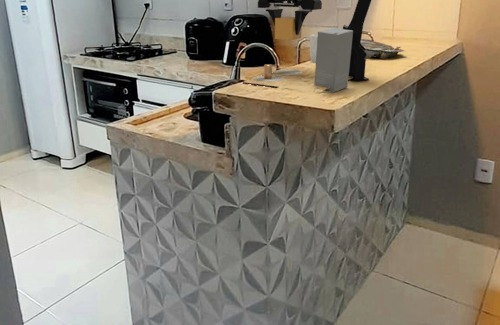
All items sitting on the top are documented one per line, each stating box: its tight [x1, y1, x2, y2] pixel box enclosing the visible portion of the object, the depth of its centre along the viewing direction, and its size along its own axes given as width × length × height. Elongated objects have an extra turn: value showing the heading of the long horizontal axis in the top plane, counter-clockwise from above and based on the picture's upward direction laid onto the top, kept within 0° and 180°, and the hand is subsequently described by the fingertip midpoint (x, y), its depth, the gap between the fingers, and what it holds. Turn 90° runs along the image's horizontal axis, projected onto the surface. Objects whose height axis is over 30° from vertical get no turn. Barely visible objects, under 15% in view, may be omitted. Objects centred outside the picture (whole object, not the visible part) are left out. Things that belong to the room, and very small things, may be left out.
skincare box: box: [313, 27, 353, 93], centre depth 132 cm, size 8×7×16 cm
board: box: [242, 69, 304, 89], centre depth 147 cm, size 11×22×1 cm, turn 147°
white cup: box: [309, 33, 318, 64], centre depth 171 cm, size 8×8×10 cm
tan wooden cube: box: [274, 16, 302, 41], centre depth 146 cm, size 6×6×6 cm
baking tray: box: [361, 38, 405, 60], centre depth 193 cm, size 30×22×5 cm
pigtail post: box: [263, 63, 273, 79], centre depth 141 cm, size 2×2×4 cm
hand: (288, 33), depth 147 cm, fingers closed on tan wooden cube, 6 cm apart
